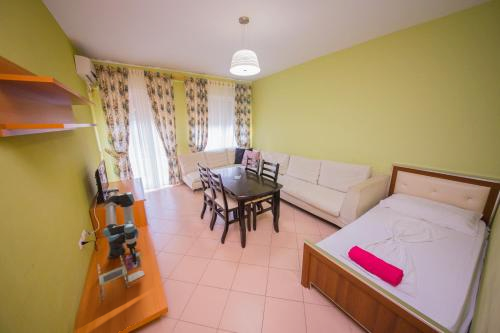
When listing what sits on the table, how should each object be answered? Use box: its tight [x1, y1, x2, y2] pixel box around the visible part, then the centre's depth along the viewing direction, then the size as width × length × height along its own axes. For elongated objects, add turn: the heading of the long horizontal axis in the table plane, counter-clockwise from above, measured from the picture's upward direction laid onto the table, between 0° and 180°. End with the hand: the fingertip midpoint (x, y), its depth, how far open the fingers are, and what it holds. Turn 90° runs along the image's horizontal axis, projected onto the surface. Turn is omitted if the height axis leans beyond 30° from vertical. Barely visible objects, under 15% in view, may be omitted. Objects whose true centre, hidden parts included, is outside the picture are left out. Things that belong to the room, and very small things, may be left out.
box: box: [125, 251, 142, 272], centre depth 158 cm, size 10×6×12 cm, turn 118°
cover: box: [98, 265, 128, 287], centre depth 144 cm, size 11×18×5 cm, turn 133°
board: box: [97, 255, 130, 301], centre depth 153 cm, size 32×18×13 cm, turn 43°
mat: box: [128, 270, 145, 284], centre depth 160 cm, size 9×12×1 cm
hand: (134, 265), depth 158 cm, fingers closed on box, 7 cm apart
